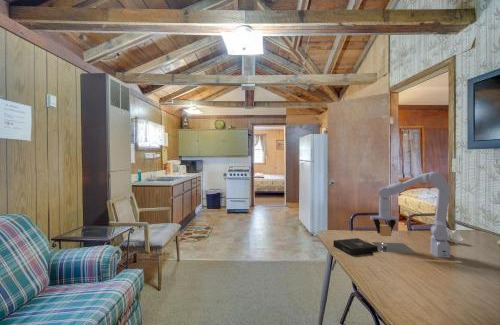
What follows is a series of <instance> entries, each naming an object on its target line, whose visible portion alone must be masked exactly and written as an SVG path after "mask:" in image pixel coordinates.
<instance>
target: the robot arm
mask: <svg viewBox="0 0 500 325" xmlns="http://www.w3.org/2000/svg"><path fill="white" fill-rule="evenodd" d="M393 182H394V183H391V184H389V185H388V184H386V185H385V187H381V188H380V189H378V190H379V191H378V195H379V198H378V199H379V200H378V215H370V216H369V218H370V220H371V221H372V222H373V224H374V225H375V228H376V232H377V234H378V233H380V225H381V221H387V222H388V225H389V226H390V227H391V234H392V233H393V229H394V226H395V225H396V223H397V222H399V219H400V218H399V216H392V215H391V200H390V199H391V196H395V195H397V194H400V193H402V192H404V191H405V190H406V188H408V187H412V186H414V185H417V184H420V183H424V184H425V183H426V184H427V183H430V184H431V185H433V186H434V187H435V188H436V189H437V190H438V193H437V201H436V208H435V216H434V220H433V223H432V225H431V227H430V232H431V234H432V235H431V236H430V250H429V251H430V254H431V255H433V256H435V257H437V258H443V259H446V258H448V259H451V246H450V243H448V238H447V236H448V233H447V230H446V228H448V227H447V216H448V209H449V201H450V196H451V195H450V194H451V186H450V185H449V183H448V181H447V180H446V176H443V175H442V174H441V173H439V172H436V171H433V170H432V171H428V172H425V173H422V174H419V175H416V176H414V177H412V178H410V179H407V180H405V181H400V180H399V181H397V180H396V181H393Z"/></svg>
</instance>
